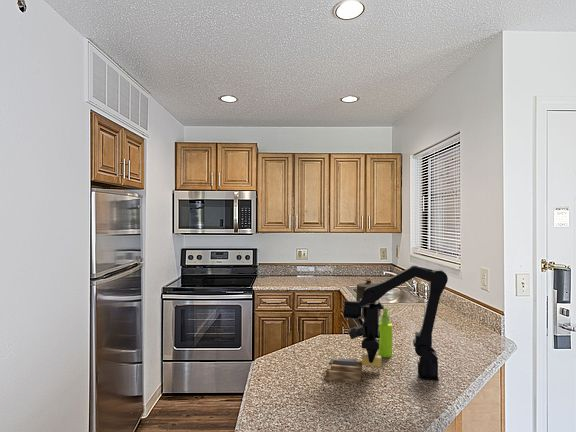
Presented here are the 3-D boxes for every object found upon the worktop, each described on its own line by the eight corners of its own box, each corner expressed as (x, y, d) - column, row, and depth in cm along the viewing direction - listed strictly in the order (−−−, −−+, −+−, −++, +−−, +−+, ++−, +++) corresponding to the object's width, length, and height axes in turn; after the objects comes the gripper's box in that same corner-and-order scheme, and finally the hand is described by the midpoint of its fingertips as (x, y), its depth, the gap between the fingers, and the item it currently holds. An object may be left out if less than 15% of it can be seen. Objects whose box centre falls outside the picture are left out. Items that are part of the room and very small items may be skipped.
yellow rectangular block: (381, 364, 158) (381, 355, 158) (381, 366, 155) (381, 358, 155) (362, 362, 159) (362, 354, 159) (362, 365, 156) (362, 356, 156)
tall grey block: (356, 367, 158) (356, 359, 158) (356, 370, 155) (356, 361, 155) (338, 366, 159) (338, 358, 159) (337, 369, 156) (337, 360, 156)
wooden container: (383, 317, 248) (383, 280, 248) (358, 317, 248) (358, 280, 248) (378, 311, 263) (378, 277, 263) (354, 311, 263) (354, 276, 263)
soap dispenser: (379, 351, 181) (379, 305, 182) (394, 354, 177) (394, 307, 177) (373, 354, 177) (373, 307, 177) (388, 358, 172) (388, 309, 173)
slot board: (362, 369, 159) (362, 360, 159) (360, 382, 146) (360, 373, 146) (331, 366, 162) (331, 357, 162) (326, 379, 148) (326, 370, 149)
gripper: (351, 313, 168) (351, 352, 168) (347, 324, 150) (347, 367, 150) (379, 315, 166) (379, 354, 165) (379, 326, 148) (378, 370, 147)
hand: (371, 361), depth 157 cm, fingers closed on yellow rectangular block, 3 cm apart
